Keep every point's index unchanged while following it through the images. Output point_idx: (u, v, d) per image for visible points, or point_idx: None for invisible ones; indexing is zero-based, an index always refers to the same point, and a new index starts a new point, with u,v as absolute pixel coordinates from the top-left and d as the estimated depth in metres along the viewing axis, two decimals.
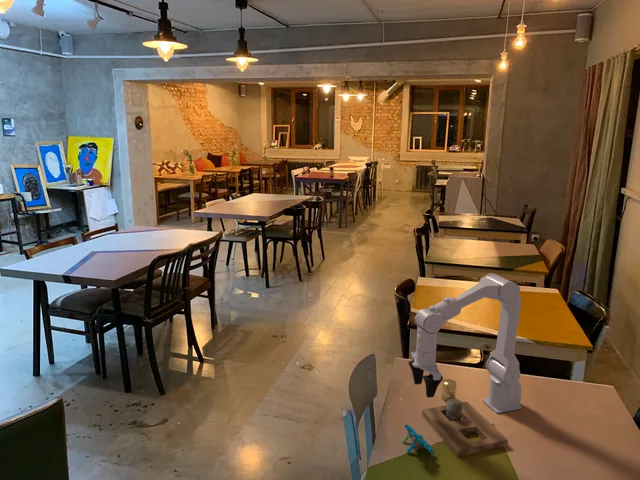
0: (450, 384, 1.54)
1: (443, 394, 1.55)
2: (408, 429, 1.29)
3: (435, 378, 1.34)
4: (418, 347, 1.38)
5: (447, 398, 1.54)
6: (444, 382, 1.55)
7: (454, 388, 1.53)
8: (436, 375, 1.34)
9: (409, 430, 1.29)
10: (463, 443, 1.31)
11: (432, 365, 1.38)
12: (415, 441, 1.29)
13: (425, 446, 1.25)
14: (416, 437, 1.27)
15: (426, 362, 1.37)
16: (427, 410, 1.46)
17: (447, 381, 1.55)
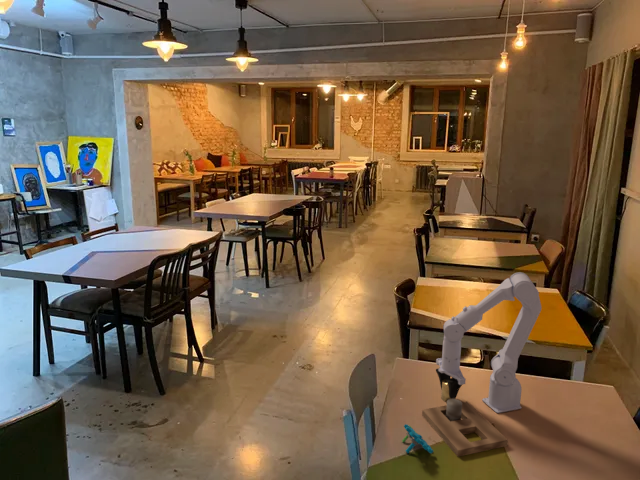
0: None
1: (443, 394, 1.55)
2: (407, 429, 1.29)
3: (460, 383, 1.47)
4: (442, 352, 1.53)
5: (447, 398, 1.54)
6: (444, 382, 1.55)
7: None
8: (461, 380, 1.47)
9: (408, 430, 1.29)
10: (463, 443, 1.31)
11: (457, 371, 1.51)
12: (414, 441, 1.29)
13: (424, 446, 1.25)
14: (415, 437, 1.27)
15: (451, 368, 1.51)
16: (427, 410, 1.46)
17: None
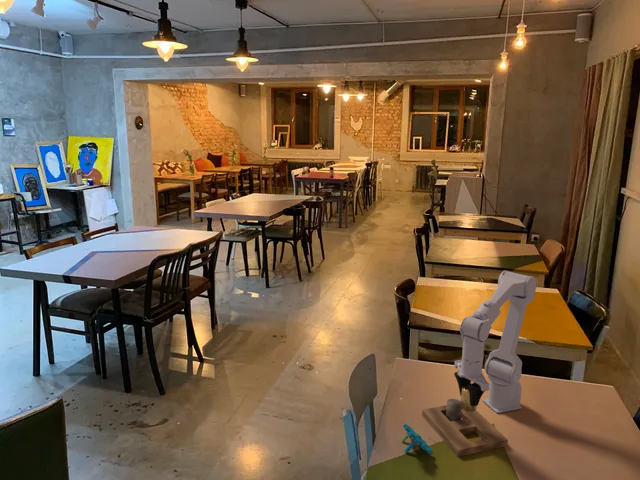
0: None
1: (463, 402, 1.36)
2: (406, 429, 1.29)
3: (483, 389, 1.28)
4: (468, 358, 1.32)
5: (468, 407, 1.35)
6: (464, 389, 1.36)
7: None
8: (484, 386, 1.28)
9: (407, 430, 1.29)
10: (463, 443, 1.31)
11: (479, 375, 1.33)
12: (413, 441, 1.29)
13: (422, 446, 1.25)
14: (414, 437, 1.27)
15: (473, 372, 1.32)
16: (427, 410, 1.46)
17: (467, 387, 1.37)
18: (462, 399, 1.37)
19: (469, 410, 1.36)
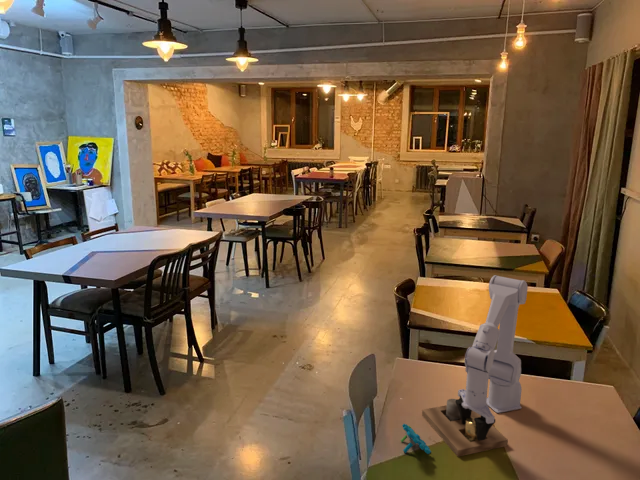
0: (475, 424, 1.33)
1: (467, 436, 1.33)
2: (405, 428, 1.29)
3: (488, 421, 1.26)
4: (474, 389, 1.29)
5: (472, 441, 1.33)
6: (468, 422, 1.34)
7: None
8: (489, 418, 1.26)
9: (406, 429, 1.29)
10: (463, 443, 1.31)
11: (483, 406, 1.30)
12: (412, 441, 1.29)
13: (421, 446, 1.25)
14: (412, 437, 1.27)
15: (477, 403, 1.29)
16: (427, 410, 1.46)
17: (471, 420, 1.34)
18: (466, 432, 1.34)
19: None
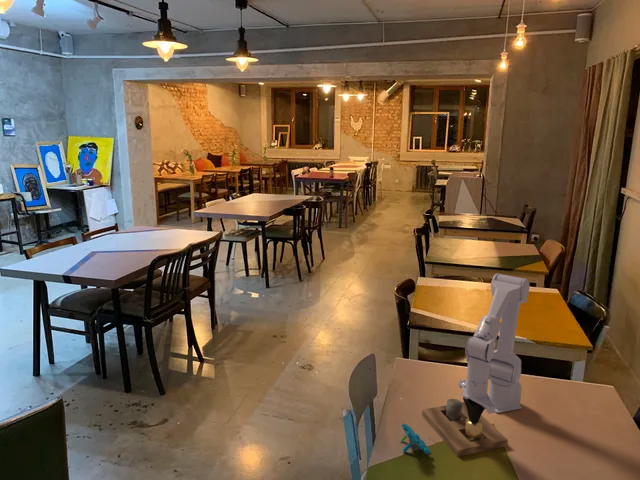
0: (475, 424, 1.33)
1: (467, 436, 1.33)
2: (404, 428, 1.29)
3: (489, 411, 1.25)
4: (475, 379, 1.28)
5: (473, 440, 1.33)
6: (468, 422, 1.34)
7: (480, 429, 1.32)
8: (490, 408, 1.25)
9: (405, 429, 1.29)
10: (463, 443, 1.31)
11: (484, 396, 1.29)
12: (411, 441, 1.30)
13: (420, 446, 1.25)
14: (411, 437, 1.28)
15: (478, 394, 1.29)
16: (427, 410, 1.46)
17: None
18: (466, 432, 1.34)
19: None
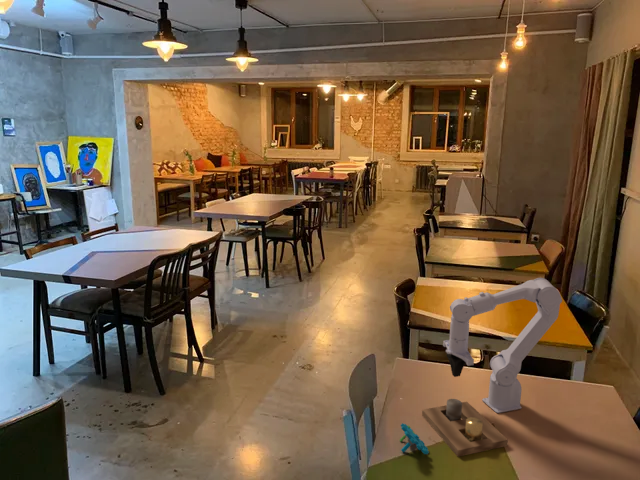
0: (475, 424, 1.33)
1: (467, 436, 1.33)
2: (403, 428, 1.29)
3: (468, 363, 1.44)
4: (450, 333, 1.49)
5: (472, 441, 1.33)
6: (468, 422, 1.34)
7: (480, 429, 1.32)
8: (469, 361, 1.44)
9: (404, 429, 1.29)
10: (463, 443, 1.31)
11: (465, 352, 1.48)
12: (410, 441, 1.30)
13: (418, 446, 1.25)
14: (410, 437, 1.28)
15: (459, 349, 1.47)
16: (427, 410, 1.46)
17: (471, 420, 1.34)
18: (466, 432, 1.34)
19: None
